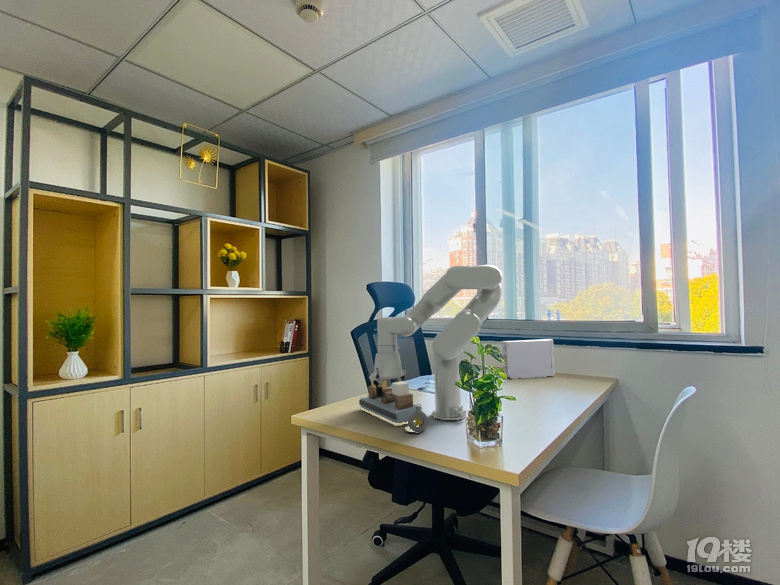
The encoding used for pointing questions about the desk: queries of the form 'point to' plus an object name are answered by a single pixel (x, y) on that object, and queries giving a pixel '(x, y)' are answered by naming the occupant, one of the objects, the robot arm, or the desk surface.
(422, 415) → the pocket watch
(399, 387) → the cream box
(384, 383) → the mustard box
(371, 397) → the brown blocks
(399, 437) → the desk surface
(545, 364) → the game console
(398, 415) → the dock
